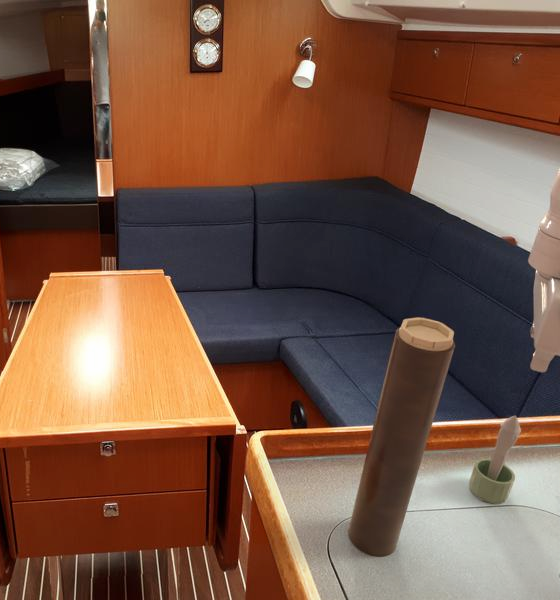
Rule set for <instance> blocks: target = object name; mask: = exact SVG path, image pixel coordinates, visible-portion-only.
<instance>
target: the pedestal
mask: <svg viewBox="0 0 560 600" xmlns="http://www.w3.org/2000/svg"><path fill="white" fill-rule="evenodd" d="M399 329H400V327H398V328H397V329H396V331H395V333H394V337H393V342H392V346H391V350H390V354H389V358H388V363H387V367H386V370H385V371H386V372H385V375H384V379H383V383H382V384H383V385H382V388H381V392H380V396H379V397H380V398H379V400H378V405H377V409H376V413H375V416H374V421H373V425H372V429H371V434H370V438H369V442H368V446H367V450H366V453H365V454H366V455H365V459H364V463H363V468H362V472H361V476H360V479H359V484H358V487H357V492H356V496H355V500H354V505H353V509H352V513H351V518H350V522H349V526H348V530H347V533H348V537H349V539H350V541H351V543H352V544H353V545H354V546H355V547H356V548H357V549H358V550H360V551H361V552H362V553H364V554H367V555H370V556H373V557H387V556H389V555H391V554H392V553H394V551H395V550H396V548H397V545H398V542H399V540H400V539H399V538H400V535H401V533H402V532H401V531H402V528H403V525H404V521H405V518H406V514H407V511H408V508H409V504H410V501H411V498H412V495H413V491H414V488H415V484H416V480H417V477H418V473H419V470H420V467H421V464H422V461H423V457H424V452H425V450H426V447H427V443H428V439H429V436H430V433H431V429H432V426H433V423H434V419H435V416H436V412H437V409H438V406H439V402H440V399H441V396H442V392H443V390H444V389H443V388H444V387H445V386H444V385H445V382H446V379H447V376H448V372H449V369H450V365H451V362H452V359H453V354H454V351H455V348H456V343H455V340H453V345H452V347H451V348H450V349H448V350H445V351H427V350H422V349H418V348H416V347H413V346H411V345H409V344H407V343H405V342H404V341H403V340H402V339H401V338H400V337H399Z"/></svg>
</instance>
